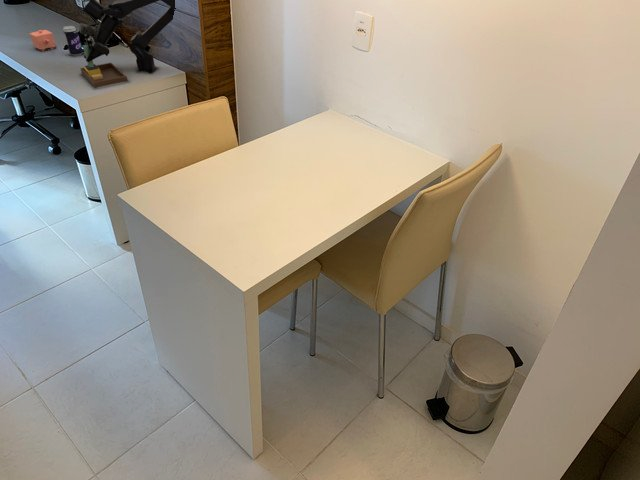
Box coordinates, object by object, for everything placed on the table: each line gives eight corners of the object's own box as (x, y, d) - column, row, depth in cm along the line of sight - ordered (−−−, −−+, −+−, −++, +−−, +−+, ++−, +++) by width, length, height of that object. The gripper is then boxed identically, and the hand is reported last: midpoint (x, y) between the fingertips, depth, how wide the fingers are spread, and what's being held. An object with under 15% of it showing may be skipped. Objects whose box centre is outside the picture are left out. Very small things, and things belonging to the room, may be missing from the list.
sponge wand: (97, 71, 210) (89, 42, 203) (101, 74, 207) (93, 46, 199) (85, 73, 208) (77, 44, 200) (89, 77, 204) (81, 48, 197)
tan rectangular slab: (101, 76, 206) (100, 73, 205) (103, 78, 204) (102, 75, 203) (91, 78, 204) (90, 75, 203) (93, 80, 202) (92, 77, 201)
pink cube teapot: (43, 53, 228) (37, 35, 222) (32, 47, 234) (26, 29, 229) (60, 49, 232) (54, 31, 227) (49, 43, 238) (43, 26, 233)
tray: (81, 74, 208) (80, 68, 207) (112, 68, 215) (111, 62, 213) (95, 88, 197) (93, 82, 195) (127, 82, 203) (126, 76, 201)
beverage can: (74, 57, 225) (66, 30, 217) (67, 54, 227) (59, 27, 220) (85, 54, 228) (78, 27, 221) (79, 51, 231) (71, 24, 223)
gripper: (83, 10, 200) (63, 41, 203) (92, 21, 188) (71, 54, 191) (107, 27, 209) (88, 57, 211) (118, 39, 197) (97, 71, 199)
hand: (85, 59), depth 203 cm, fingers open, 4 cm apart
